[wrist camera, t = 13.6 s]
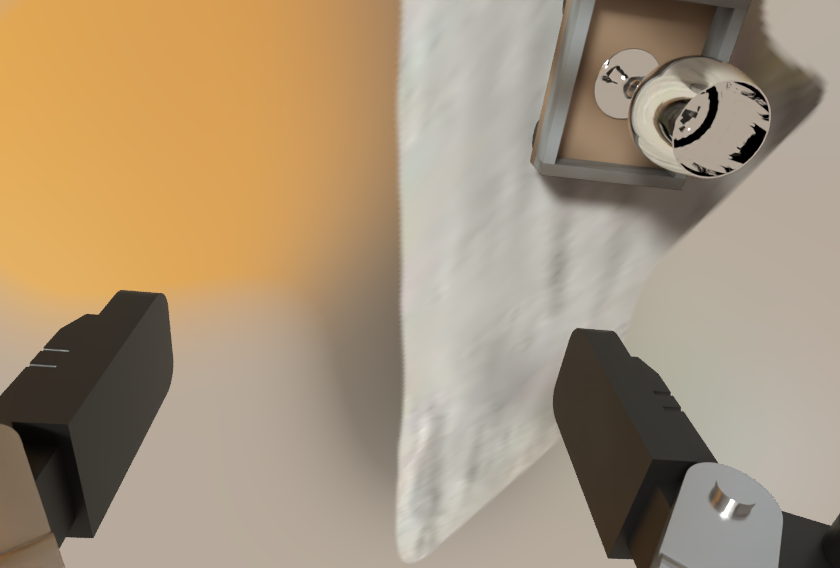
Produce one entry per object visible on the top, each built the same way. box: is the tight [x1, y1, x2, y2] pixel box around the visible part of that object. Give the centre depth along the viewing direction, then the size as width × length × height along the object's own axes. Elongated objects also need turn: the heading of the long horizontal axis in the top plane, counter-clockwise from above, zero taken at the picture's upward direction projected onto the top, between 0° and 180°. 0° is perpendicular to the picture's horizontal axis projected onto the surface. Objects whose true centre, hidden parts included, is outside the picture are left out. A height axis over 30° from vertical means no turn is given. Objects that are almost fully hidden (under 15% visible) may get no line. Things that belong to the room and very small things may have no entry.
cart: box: [530, 0, 751, 190], centre depth 38 cm, size 12×10×5 cm
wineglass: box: [593, 48, 771, 178], centre depth 32 cm, size 6×6×12 cm
